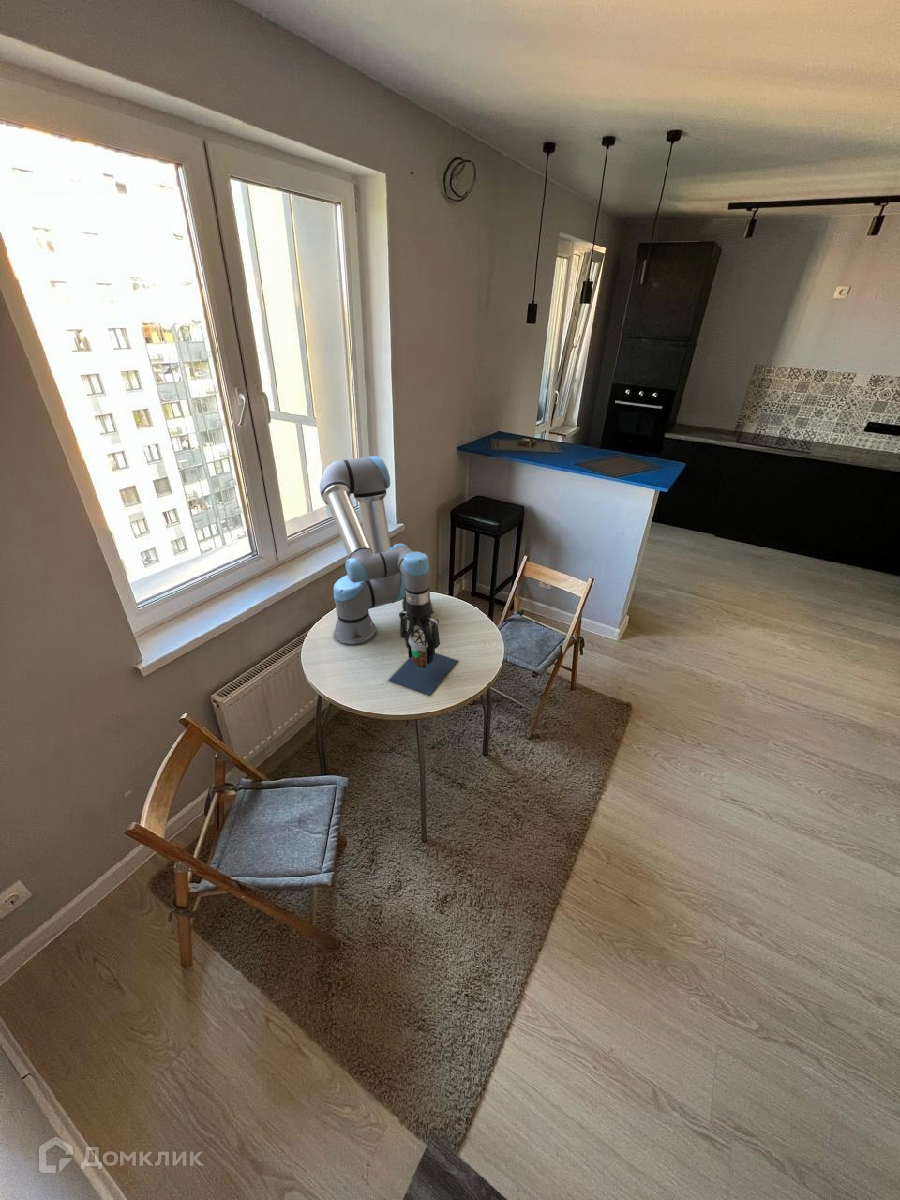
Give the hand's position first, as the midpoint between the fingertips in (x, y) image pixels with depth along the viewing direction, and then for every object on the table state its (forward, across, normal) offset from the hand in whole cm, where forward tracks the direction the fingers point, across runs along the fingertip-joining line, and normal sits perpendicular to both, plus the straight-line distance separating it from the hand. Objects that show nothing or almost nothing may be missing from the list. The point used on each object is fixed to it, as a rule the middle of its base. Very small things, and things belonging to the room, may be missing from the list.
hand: (420, 658), depth 165 cm
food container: (0, -1, 0) cm, 1 cm away
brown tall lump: (+7, -22, +33) cm, 40 cm away
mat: (+7, 0, +2) cm, 7 cm away
